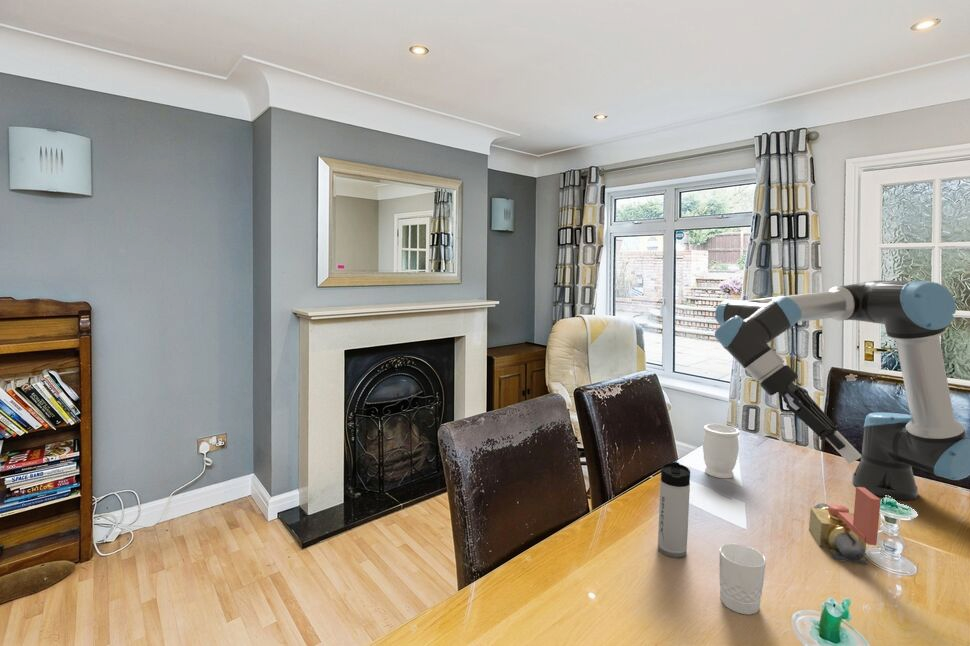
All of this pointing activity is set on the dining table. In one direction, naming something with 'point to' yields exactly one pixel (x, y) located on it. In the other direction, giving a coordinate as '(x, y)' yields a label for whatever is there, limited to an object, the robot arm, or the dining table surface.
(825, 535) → the valve body
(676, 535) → the travel mug
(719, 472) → the jar
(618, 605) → the dining table surface
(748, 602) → the white cup
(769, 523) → the dining table surface
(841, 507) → the lever
